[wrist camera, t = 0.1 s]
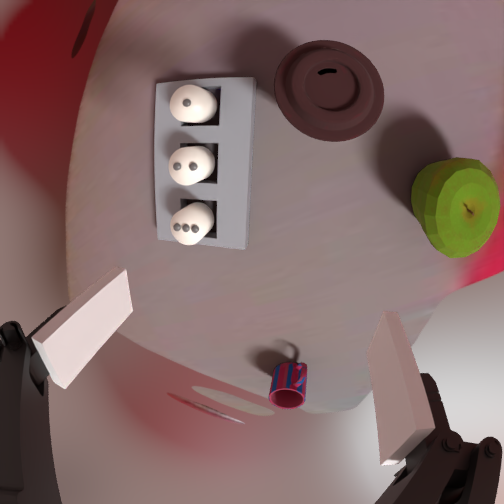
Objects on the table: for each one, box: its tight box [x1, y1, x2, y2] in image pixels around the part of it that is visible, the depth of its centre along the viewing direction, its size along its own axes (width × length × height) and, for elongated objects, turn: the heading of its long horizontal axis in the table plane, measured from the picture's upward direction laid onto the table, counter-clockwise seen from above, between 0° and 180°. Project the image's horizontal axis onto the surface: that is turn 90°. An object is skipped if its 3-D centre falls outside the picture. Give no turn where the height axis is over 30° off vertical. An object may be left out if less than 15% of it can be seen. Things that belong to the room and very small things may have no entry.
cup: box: [269, 362, 307, 409], centre depth 48 cm, size 7×10×7 cm
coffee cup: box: [274, 40, 384, 142], centre depth 26 cm, size 10×10×15 cm
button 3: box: [170, 202, 214, 245], centre depth 38 cm, size 5×5×5 cm
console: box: [154, 77, 257, 250], centre depth 37 cm, size 24×14×2 cm, turn 177°
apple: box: [411, 157, 500, 258], centre depth 28 cm, size 12×12×11 cm
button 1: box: [170, 85, 217, 123], centre depth 31 cm, size 5×5×5 cm
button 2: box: [169, 146, 215, 185], centre depth 34 cm, size 5×5×5 cm
